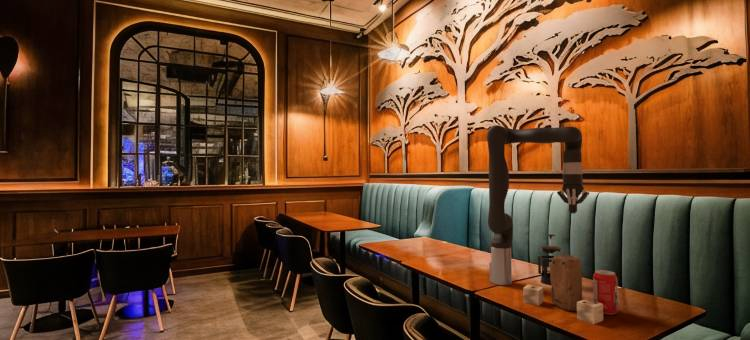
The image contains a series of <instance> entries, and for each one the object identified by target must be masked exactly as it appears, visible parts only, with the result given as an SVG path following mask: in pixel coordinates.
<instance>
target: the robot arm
mask: <svg viewBox="0 0 750 340" xmlns="http://www.w3.org/2000/svg"><path fill="white" fill-rule="evenodd" d="M486 141H487V148H488V149H487V150H488V189H489V190H488V194H489V196H488V197H489V199H488V202H489V203H488V206H489V207H488V217H487V224H488V225H487V226H488V228H489V230H490V231H491V232H492V233H493V234H494V235H493V237H492V239H491V240H490V261H489V263H488V264H489V282H490V283H492V284H494V285H497V286H510V285H512V283H513V281H512V280H513V278H512V277H513V276H512V275H513V273H512V272H513V271H512V270H513V269H512V243H513V239H514V237H513V236H514V235H513V234H514V223H513V222H514V221H513V219H512V217H511V215H509V214H508V213H507V212H505V203H506V199H507V195H508V191H509V187H510V173H509V167H508V164H507V163H508V162H507V159H506V155H505V154H506V153H505V147H506V146H505V145H510V144H517V143H518V144H519V143H521V144H522V143H527V144H529V143H530V144H554V143H562V144H563V143H564V150H563V155H562V159H563V164H562V187H561V189H560V190H559V191H557V192H556V193H557V196H559V197H560V199H561V200H562V202H564V203H565V204H568V211H569V213H570V214H573V215H574V214H576V213H577V212H578V205H579V204H582V203H583V202H584V201H585V200H586V199H587V198H588V196H589V195H590V191H587V190H585V187H584V186H583V184H584V182H583V180H584V179H583V177H584V176H583V173H584V171H583V163H582V146H583V145H582V144H583V134H582V131H581V130H580V129H578V128H577V127H575V126H559V127H533V128H524V129H516V128H515V129H514V128H508V127H505V126H501V125H492V126H490V128H488V131H487V133H486ZM579 196H580V197H579Z"/></svg>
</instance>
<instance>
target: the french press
mask: <svg viewBox="0 0 750 340" xmlns="http://www.w3.org/2000/svg"><path fill="white" fill-rule="evenodd" d="M545 236H546V237H549V241H550V242H549V243H550V245H541V246H540V248H541V252H542V253H544V254H555V252H558V253H561V250H562V247H560V246H557V245H556V246H555V245H552V239H553V237H556V235H555V234H553V233H552V234H550V233H549V234H545ZM555 256H556V255H538V256H537V263H538V265H537V268H538V269H537V271H538V273H537V274H538V275H540V282H541V284H544V285H547V286H552V285H551V279H550V266H548V263H551V261H552V259H553V258H554V257H555Z"/></svg>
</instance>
